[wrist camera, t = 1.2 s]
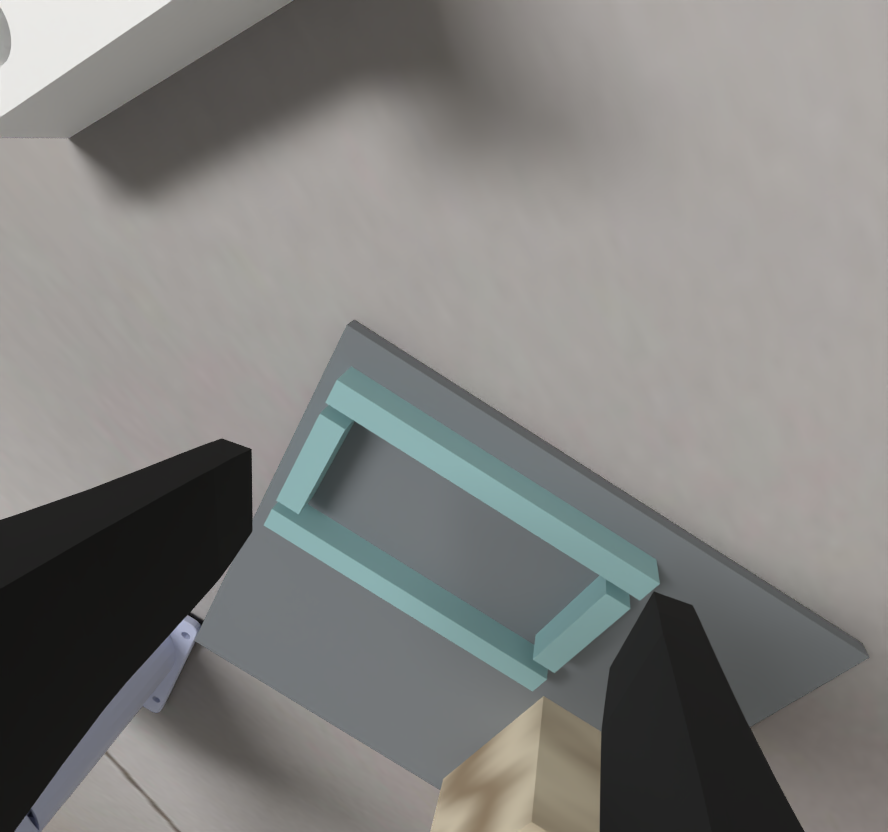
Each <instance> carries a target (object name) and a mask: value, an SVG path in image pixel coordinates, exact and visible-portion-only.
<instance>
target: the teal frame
mask: <svg viewBox="0 0 888 832" xmlns="http://www.w3.org/2000/svg"><path fill="white" fill-rule="evenodd" d="M325 403H327V404H328V406H327V407H326V408H325V409H324V410H323V411H322V412H321V413H320V414H319V416H318V418H317V420H316V422H315V424H314V426H313V428H312V430H311V432H310V434H309V436H308V438H307V440H306V442H305V444H304V446H303V448H302V450H301V452H300V454H299V456H298V458H297V460H296V462H295V464H294V466H293V468H292V470H291V472H290V474H289V476H288V478H287V480H286V482H285V484H284V486H283V488H282V490H281V492H280V494H279V496H278V498H277V500H276V501H278V503H277V504H276V505H275V506H274V507H273V508H272V510H271V512H270V514H269V516H268V518H267V520H266V521H265V523H264V526H265V527H267V528H269V529H270V530H272V531H274V532H275V533H277V534H278V535H280V536H282V537H283V538H285V539H286V540H288V541H290V542H291V543H293V544H295V545H296V546H298V547H299V548H301V549H303V550H304V551H306V552H308V553H309V554H311V555H312V556H314V557H316V558H317V559H319V560H320V561H322V562H324V563H325V564H327V565H329V566H330V567H332V568H333V569H335V570H337V571H338V572H340V573H342V574H343V575H345V576H346V577H348V578H350V579H351V580H353V581H354V582H356V583H358V584H359V585H361V586H363V587H364V588H366V589H367V590H369V591H371V592H372V593H374V594H375V595H377V596H379V597H380V598H382V599H384V600H385V601H387V602H388V603H390V604H392V605H393V606H395V607H397V608H398V609H400V610H401V611H403V612H405V613H406V614H408V615H409V616H411V617H413V618H414V619H416V620H418V621H419V622H421V623H422V624H424V625H426V626H427V627H429V628H431V629H432V630H434V631H435V632H437V633H439V634H440V635H442V636H443V637H445V638H447V639H448V640H450V641H452V642H453V643H455V644H456V645H458V646H460V647H461V648H463V649H464V650H466V651H468V652H469V653H471V654H473V655H474V656H476V657H477V658H479V659H481V660H482V661H484V662H486V663H487V664H489V665H490V666H492V667H494V668H495V669H497V670H498V671H500V672H502V673H503V674H505V675H507V676H508V677H510V678H511V679H513V680H515V681H516V682H518V683H520V684H521V685H523V686H524V687H526V688H528V689H529V690H531V691H532V692H533V691H534V690H535V689H536V688H537V687H539V686H540V685H541V684H542V683H543V682H544V681H546V680H547V674H548V669H549V670H550V671H552V672H553V673H555V672H556V671H557V670H559V669H560V668H561V667H562V666H563V665H565V664H566V663H567V662H568V661H569V660H570V659H572V658H573V657H574V656H575V655H576V654H578V653H579V652H580V651H581V650H582V649H583V648H585V647H586V646H587V645H588V644H589V643H591V642H592V641H593V640H594V639H595V638H596V637H598V636H599V635H600V634H601V633H602V632H604V631H605V630H606V629H607V628H608V627H609V626H611V625H612V624H613V623H614V622H615V621H617V620H618V619H619V618H620V617H621V616H622V615H624V614H625V613H626V612H627V611H628V610H630V596H629V594H630V595H632V596H633V597H635V598H636V599H638V600H641V599H643V598H644V597H645V596H646V595H647V594H648V593H650V592H651V591H652V590H653V589H654V588H656V587H657V586H658V585H659V584H660V581H659V574H658V567H657V560H656V559H655V558H653V557H652V556H650V555H648V554H647V553H645V552H644V551H642V550H640V549H639V548H637V547H636V546H634V545H633V544H631V543H629V542H628V541H626V540H625V539H623V538H622V537H620V536H618V535H617V534H615V533H614V532H612V531H610V530H609V529H607V528H606V527H604V526H603V525H601V524H599V523H598V522H596V521H595V520H593V519H592V518H590V517H588V516H587V515H585V514H584V513H582V512H580V511H579V510H577V509H576V508H574V507H573V506H571V505H569V504H568V503H566V502H565V501H563V500H562V499H560V498H558V497H557V496H555V495H554V494H552V493H550V492H549V491H547V490H546V489H544V488H543V487H541V486H539V485H538V484H536V483H535V482H533V481H532V480H530V479H528V478H527V477H525V476H524V475H522V474H520V473H519V472H517V471H516V470H514V469H513V468H511V467H509V466H508V465H506V464H505V463H503V462H502V461H500V460H498V459H497V458H495V457H494V456H492V455H490V454H489V453H487V452H486V451H484V450H483V449H481V448H479V447H478V446H476V445H475V444H473V443H472V442H470V441H468V440H467V439H465V438H464V437H462V436H460V435H459V434H457V433H456V432H454V431H453V430H451V429H449V428H448V427H446V426H445V425H443V424H442V423H440V422H438V421H437V420H435V419H434V418H432V417H430V416H429V415H427V414H426V413H424V412H423V411H421V410H419V409H418V408H416V407H415V406H413V405H412V404H410V403H408V402H407V401H405V400H404V399H402V398H400V397H399V396H397V395H396V394H394V393H393V392H391V391H389V390H388V389H386V388H385V387H383V386H382V385H380V384H378V383H377V382H375V381H374V380H372V379H370V378H369V377H367V376H366V375H364V374H363V373H361V372H359V371H358V370H356V369H355V368H353V367H352V366H351V367H350V368H349V369H348V370H347V371H346V372H345V373H344V374H343V375H341V376H340V377H339V378H338V379H337V380H336V382H335V384H334V386H333V388H332V390H331V392H330V394H329V396H328V398H327V400H326V402H325ZM354 422H357V423H358V424H360V425H362V426H363V427H365V428H366V429H368V430H370V431H371V432H373V433H374V434H376V435H378V436H379V437H381V438H382V439H384V440H385V441H387V442H389V443H390V444H392V445H393V446H395V447H397V448H398V449H400V450H401V451H403V452H405V453H406V454H408V455H409V456H411V457H412V458H414V459H416V460H417V461H419V462H420V463H422V464H424V465H425V466H427V467H428V468H430V469H432V470H433V471H435V472H436V473H438V474H439V475H441V476H443V477H444V478H446V479H447V480H449V481H451V482H452V483H454V484H455V485H457V486H459V487H460V488H462V489H463V490H465V491H466V492H468V493H470V494H471V495H473V496H474V497H476V498H478V499H479V500H481V501H482V502H484V503H486V504H487V505H489V506H490V507H492V508H494V509H495V510H497V511H498V512H500V513H501V514H503V515H505V516H506V517H508V518H509V519H511V520H513V521H514V522H516V523H517V524H519V525H521V526H522V527H524V528H525V529H527V530H528V531H530V532H532V533H533V534H535V535H536V536H538V537H540V538H541V539H543V540H544V541H546V542H548V543H549V544H551V545H552V546H554V547H555V548H557V549H559V550H560V551H562V552H563V553H565V554H567V555H568V556H570V557H571V558H573V559H575V560H576V561H578V562H579V563H581V564H582V565H584V566H586V567H587V568H589V569H590V570H592V571H594V572H595V573H597V574H598V575H599V576H598V577H597V578H596V579H595V580H594V581H593V582H592V583H591V584H590V585H589V586H588V587H586V588H585V589H584V590H583V591H582V592H581V593H580V594H579V595H578V596H577V597H576V598H575V599H574V600H573V601H571V602H570V603H569V604H568V605H567V606H566V607H565V608H564V609H563V610H562V611H561V612H560V613H559V614H558V615H556V616H555V617H554V618H553V619H552V620H551V621H550V622H549V623H548V624H547V625H546V626H545V627H544V628H543V629H542V630H540V631H539V632H538V633H537V634H536V636H535V644H532V643H530V642H529V641H527V640H526V639H524V638H522V637H521V636H519V635H518V634H516V633H514V632H513V631H511V630H509V629H508V628H506V627H505V626H503V625H501V624H500V623H498V622H497V621H495V620H493V619H492V618H490V617H489V616H487V615H485V614H484V613H482V612H481V611H479V610H477V609H476V608H474V607H472V606H471V605H469V604H468V603H466V602H464V601H463V600H461V599H460V598H458V597H456V596H455V595H453V594H452V593H450V592H448V591H447V590H445V589H443V588H442V587H440V586H439V585H437V584H435V583H434V582H432V581H431V580H429V579H427V578H426V577H424V576H423V575H421V574H419V573H418V572H416V571H415V570H413V569H411V568H410V567H408V566H406V565H405V564H403V563H402V562H400V561H398V560H397V559H395V558H394V557H392V556H390V555H389V554H387V553H386V552H384V551H382V550H381V549H379V548H378V547H376V546H374V545H373V544H371V543H369V542H368V541H366V540H365V539H363V538H361V537H360V536H358V535H357V534H355V533H353V532H352V531H350V530H349V529H347V528H345V527H344V526H342V525H341V524H339V523H337V522H336V521H334V520H332V519H331V518H329V517H328V516H326V515H324V514H323V513H321V512H320V511H318V510H316V509H315V508H313V507H312V506H310V505H308V502H309V501H310V500H311V499H312V497H313V496H314V494H315V492H316V490H317V489H318V487H319V485H320V483H321V481H322V480H323V478H324V476H325V474H326V472H327V470H328V469H329V467H330V465H331V463H332V461H333V460H334V458H335V456H336V454H337V452H338V451H339V449H340V447H341V445H342V443H343V442H344V440H345V438H346V436H347V434H348V432H349V431H350V429H351V427H352V425H353V423H354Z"/></svg>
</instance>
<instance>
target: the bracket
mask: <svg viewBox="0 0 888 832" xmlns="http://www.w3.org/2000/svg"><path fill="white" fill-rule="evenodd" d="M292 1H294V0H0V138H70V137H72V136H73V135H75V134H77V133H78V132H80V131H81V130H83V129H85V128H86V127H88V126H90V125H91V124H93V123H94V122H96V121H98V120H99V119H101V118H103V117H104V116H106V115H108V114H109V113H111V112H112V111H114V110H116V109H117V108H119V107H121V106H122V105H124V104H125V103H127V102H129V101H130V100H132V99H134V98H135V97H137V96H139V95H140V94H142V93H143V92H145V91H147V90H148V89H150V88H152V87H153V86H155V85H156V84H158V83H160V82H161V81H163V80H165V79H166V78H168V77H170V76H171V75H173V74H174V73H176V72H178V71H179V70H181V69H183V68H184V67H186V66H187V65H189V64H191V63H192V62H194V61H196V60H197V59H199V58H201V57H202V56H204V55H205V54H207V53H209V52H210V51H212V50H214V49H215V48H217V47H218V46H220V45H222V44H223V43H225V42H227V41H228V40H230V39H232V38H233V37H235V36H236V35H238V34H240V33H241V32H243V31H245V30H246V29H248V28H249V27H251V26H253V25H254V24H256V23H258V22H259V21H261V20H263V19H264V18H266V17H267V16H269V15H271V14H272V13H274V12H276V11H277V10H279V9H280V8H282V7H284V6H285V5H287V4H289V3H290V2H292Z"/></svg>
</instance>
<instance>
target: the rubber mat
mask: <svg viewBox="0 0 888 832" xmlns="http://www.w3.org/2000/svg"><path fill="white" fill-rule="evenodd" d="M351 366H352V367H353V368H355V369H356V370H358V371H359V372H361V373H363V374H364V375H366V376H367V377H369V378H370V379H372V380H374V381H375V382H377V383H378V384H380V385H382V386H383V387H385V388H386V389H388V390H389V391H391V392H393V393H394V394H396V395H397V396H399V397H400V398H402V399H404V400H405V401H407V402H408V403H410V404H412V405H413V406H415V407H416V408H418V409H419V410H421V411H423V412H424V413H426V414H427V415H429V416H430V417H432V418H434V419H435V420H437V421H438V422H440V423H442V424H443V425H445V426H446V427H448V428H449V429H451V430H453V431H454V432H456V433H457V434H459V435H460V436H462V437H464V438H465V439H467V440H468V441H470V442H472V443H473V444H475V445H476V446H478V447H479V448H481V449H483V450H484V451H486V452H487V453H489V454H490V455H492V456H494V457H495V458H497V459H498V460H500V461H502V462H503V463H505V464H506V465H508V466H509V467H511V468H513V469H514V470H516V471H517V472H519V473H520V474H522V475H524V476H525V477H527V478H528V479H530V480H532V481H533V482H535V483H536V484H538V485H539V486H541V487H543V488H544V489H546V490H547V491H549V492H550V493H552V494H554V495H555V496H557V497H558V498H560V499H562V500H563V501H565V502H566V503H568V504H569V505H571V506H573V507H574V508H576V509H577V510H579V511H580V512H582V513H584V514H585V515H587V516H588V517H590V518H592V519H593V520H595V521H596V522H598V523H599V524H601V525H603V526H604V527H606V528H607V529H609V530H610V531H612V532H614V533H615V534H617V535H618V536H620V537H622V538H623V539H625V540H626V541H628V542H629V543H631V544H633V545H634V546H636V547H637V548H639V549H640V550H642V551H644V552H645V553H647V554H648V555H650V556H652V557H653V558H655V559H656V560H657V567H658V574H659V581H660V584H659V585H658V586H657V587H656V588H654V589H653V590H652V591H651V592H650V593H648V594H647V595H646V596H645V597H644V598H643V599H641V600H638V599H636V598H635V597H633V596H632V595H630V594H629V596H630V610H628V611H627V612H626V613H625V614H624V615H622V616H621V617H620V618H619V619H618V620H617V621H615V622H614V623H613V624H612V625H611V626H609V627H608V628H607V629H606V630H605V631H604V632H602V633H601V634H600V635H599V636H598V637H596V638H595V639H594V640H593V641H592V642H591V643H589V644H588V645H587V646H586V647H585V648H583V649H582V650H581V651H580V652H579V653H578V654H576V655H575V656H574V657H573V658H572V659H570V660H569V661H568V662H567V663H566V664H565V665H563V666H562V667H561V668H560V669H559V670H557V671H556V672H555V673H553V672H552V671H550V670H549V669H548V674H547V680H546V681H544V682H543V683H542V684H541V685H540V686H539V687H537V688H536V689H535V690H534V691H533V692H532V691H531V690H529V689H528V688H526V687H524V686H523V685H521V684H520V683H518V682H516V681H515V680H513V679H511V678H510V677H508V676H507V675H505V674H503V673H502V672H500V671H498V670H497V669H495V668H494V667H492V666H490V665H489V664H487V663H486V662H484V661H482V660H481V659H479V658H477V657H476V656H474V655H473V654H471V653H469V652H468V651H466V650H464V649H463V648H461V647H460V646H458V645H456V644H455V643H453V642H452V641H450V640H448V639H447V638H445V637H443V636H442V635H440V634H439V633H437V632H435V631H434V630H432V629H431V628H429V627H427V626H426V625H424V624H422V623H421V622H419V621H418V620H416V619H414V618H413V617H411V616H409V615H408V614H406V613H405V612H403V611H401V610H400V609H398V608H397V607H395V606H393V605H392V604H390V603H388V602H387V601H385V600H384V599H382V598H380V597H379V596H377V595H375V594H374V593H372V592H371V591H369V590H367V589H366V588H364V587H363V586H361V585H359V584H358V583H356V582H354V581H353V580H351V579H350V578H348V577H346V576H345V575H343V574H342V573H340V572H338V571H337V570H335V569H333V568H332V567H330V566H329V565H327V564H325V563H324V562H322V561H320V560H319V559H317V558H316V557H314V556H312V555H311V554H309V553H308V552H306V551H304V550H303V549H301V548H299V547H298V546H296V545H295V544H293V543H291V542H290V541H288V540H286V539H285V538H283V537H282V536H280V535H278V534H277V533H275V532H274V531H272V530H270V529H269V528H267V527H265V526H264V523H265V521H266V520H267V518H268V516H269V514H270V512H271V510H272V508H273V507H274V506H275V505H276V504H277V503H278V501H276V500H277V498H278V496H279V494H280V492H281V490H282V488H283V486H284V484H285V482H286V480H287V478H288V476H289V474H290V472H291V470H292V468H293V466H294V464H295V462H296V460H297V458H298V456H299V454H300V452H301V450H302V448H303V446H304V444H305V442H306V440H307V438H308V436H309V434H310V432H311V430H312V428H313V426H314V424H315V422H316V420H317V418H318V416H319V414H320V413H321V412H322V411H323V410H324V409H325V408H326V407H327V406H328V404H327V403H325V402H326V400H327V398H328V396H329V394H330V392H331V390H332V388H333V386H334V384H335V382H336V380H337V379H338V378H339V377H340V376H341V375H343V374H344V373H345V372H346V371H347V370H348V369H349V368H350V367H351ZM308 505H310V506H312V507H313V508H315V509H316V510H318V511H320V512H321V513H323V514H324V515H326V516H328V517H329V518H331V519H332V520H334V521H336V522H337V523H339V524H341V525H342V526H344V527H345V528H347V529H349V530H350V531H352V532H353V533H355V534H357V535H358V536H360V537H361V538H363V539H365V540H366V541H368V542H369V543H371V544H373V545H374V546H376V547H378V548H379V549H381V550H382V551H384V552H386V553H387V554H389V555H390V556H392V557H394V558H395V559H397V560H398V561H400V562H402V563H403V564H405V565H406V566H408V567H410V568H411V569H413V570H415V571H416V572H418V573H419V574H421V575H423V576H424V577H426V578H427V579H429V580H431V581H432V582H434V583H435V584H437V585H439V586H440V587H442V588H443V589H445V590H447V591H448V592H450V593H452V594H453V595H455V596H456V597H458V598H460V599H461V600H463V601H464V602H466V603H468V604H469V605H471V606H472V607H474V608H476V609H477V610H479V611H481V612H482V613H484V614H485V615H487V616H489V617H490V618H492V619H493V620H495V621H497V622H498V623H500V624H501V625H503V626H505V627H506V628H508V629H509V630H511V631H513V632H514V633H516V634H518V635H519V636H521V637H522V638H524V639H526V640H527V641H529V642H530V643H532V644H535V636H536V634H537V633H538V632H539V631H540V630H542V629H543V628H544V627H545V626H546V625H547V624H548V623H549V622H550V621H551V620H552V619H553V618H554V617H555V616H556V615H558V614H559V613H560V612H561V611H562V610H563V609H564V608H565V607H566V606H567V605H568V604H569V603H570V602H571V601H573V600H574V599H575V598H576V597H577V596H578V595H579V594H580V593H581V592H582V591H583V590H584V589H585V588H586V587H588V586H589V585H590V584H591V583H592V582H593V581H594V580H595V579H596V578H597V577H598V576H599V575H598V574H597V573H595V572H594V571H592V570H590V569H589V568H587V567H586V566H584V565H582V564H581V563H579V562H578V561H576V560H575V559H573V558H571V557H570V556H568V555H567V554H565V553H563V552H562V551H560V550H559V549H557V548H555V547H554V546H552V545H551V544H549V543H548V542H546V541H544V540H543V539H541V538H540V537H538V536H536V535H535V534H533V533H532V532H530V531H528V530H527V529H525V528H524V527H522V526H521V525H519V524H517V523H516V522H514V521H513V520H511V519H509V518H508V517H506V516H505V515H503V514H501V513H500V512H498V511H497V510H495V509H494V508H492V507H490V506H489V505H487V504H486V503H484V502H482V501H481V500H479V499H478V498H476V497H474V496H473V495H471V494H470V493H468V492H466V491H465V490H463V489H462V488H460V487H459V486H457V485H455V484H454V483H452V482H451V481H449V480H447V479H446V478H444V477H443V476H441V475H439V474H438V473H436V472H435V471H433V470H432V469H430V468H428V467H427V466H425V465H424V464H422V463H420V462H419V461H417V460H416V459H414V458H412V457H411V456H409V455H408V454H406V453H405V452H403V451H401V450H400V449H398V448H397V447H395V446H393V445H392V444H390V443H389V442H387V441H385V440H384V439H382V438H381V437H379V436H378V435H376V434H374V433H373V432H371V431H370V430H368V429H366V428H365V427H363V426H362V425H360V424H358V423H357V422H354V423H353V425H352V427H351V429H350V431H349V432H348V434H347V436H346V438H345V440H344V442H343V443H342V445H341V447H340V449H339V451H338V452H337V454H336V456H335V458H334V460H333V461H332V463H331V465H330V467H329V469H328V470H327V472H326V474H325V476H324V478H323V480H322V481H321V483H320V485H319V487H318V489H317V490H316V492H315V494H314V496H313V497H312V499H311V500H310V501H309V502H308ZM252 526H253V531H252V533H251V534H250V536H249V537H248V539H247V540H246V542H245V543H244V545H243V546H242V548H241V549H240V551H239V552H238V554H237V555H236V557H235V558H234V560H233V562H232V564H231V566H230V568H229V570H228V572H227V574H226V576H225V578H224V580H223V582H222V584H221V586H220V588H219V590H218V593H217V595H216V597H215V599H214V601H213V603H212V605H211V607H210V609H209V611H208V613H207V615H206V617H205V619H204V621H203V624H202V626H201V628H200V630H199V632H198V634H197V636H196V638H195V640H194V641H195V642H197V643H199V644H200V645H202V646H204V647H205V648H207V649H209V650H210V651H212V652H214V653H215V654H217V655H218V656H220V657H222V658H223V659H225V660H227V661H228V662H230V663H232V664H233V665H235V666H237V667H238V668H240V669H242V670H243V671H245V672H246V673H248V674H250V675H251V676H253V677H255V678H256V679H258V680H260V681H261V682H263V683H265V684H266V685H268V686H270V687H271V688H273V689H275V690H276V691H278V692H279V693H281V694H283V695H284V696H286V697H288V698H289V699H291V700H293V701H294V702H296V703H298V704H299V705H301V706H303V707H304V708H306V709H307V710H309V711H311V712H312V713H314V714H316V715H317V716H319V717H321V718H322V719H324V720H326V721H327V722H329V723H331V724H332V725H334V726H335V727H337V728H339V729H340V730H342V731H344V732H345V733H347V734H349V735H350V736H352V737H354V738H355V739H357V740H359V741H360V742H362V743H364V744H365V745H367V746H368V747H370V748H372V749H373V750H375V751H377V752H378V753H380V754H382V755H383V756H385V757H387V758H388V759H390V760H392V761H393V762H395V763H396V764H398V765H400V766H401V767H403V768H405V769H406V770H408V771H410V772H411V773H413V774H415V775H416V776H418V777H420V778H421V779H423V780H424V781H426V782H428V783H429V784H431V785H433V786H434V787H436V788H438V789H439V790H441V786H442V782H443V779H444V778H445V777H446V776H447V775H448V774H450V773H451V772H452V771H453V770H454V769H456V768H457V767H458V766H459V765H461V764H462V763H463V762H464V761H465V760H467V759H468V758H469V757H470V756H471V755H473V754H474V753H475V752H476V751H478V750H479V749H480V748H481V747H482V746H484V745H485V744H486V743H487V742H488V741H490V740H491V739H492V738H493V737H495V736H496V735H497V734H498V733H499V732H501V731H502V730H503V729H504V728H505V727H507V726H508V725H509V724H510V723H512V722H513V721H514V720H515V719H516V718H518V717H519V716H520V715H521V714H522V713H524V712H525V711H526V710H527V709H529V708H530V707H531V706H532V705H533V704H535V703H536V702H537V701H538V700H539V699H541V698H542V697H543V696H544V697H546V698H548V699H549V700H551V701H552V702H554V703H556V704H557V705H559V706H560V707H562V708H564V709H565V710H567V711H569V712H570V713H572V714H573V715H575V716H577V717H578V718H580V719H582V720H583V721H585V722H586V723H588V724H590V725H591V726H593V727H594V728H596V729H598V730H599V731H601V730H602V722H603V713H604V705H605V698H606V691H607V683H608V676H609V669H610V666H611V664H612V663H613V661H614V659H615V658H616V656H617V654H618V652H619V651H620V649H621V647H622V645H623V644H624V642H625V640H626V638H627V637H628V635H629V633H630V631H631V630H632V628H633V626H634V624H635V623H636V621H637V619H638V617H639V616H640V614H641V612H642V611H643V609H644V607H645V605H646V604H647V602H648V600H649V598H650V597H651V595H652V593H653V591H654V592H657V593H660V594H663V595H665V596H668V597H671V598H674V599H677V600H680V601H682V602H685V603H688V604H691V605H693V607H694V609H695V611H696V613H697V615H698V617H699V619H700V621H701V623H702V626H703V628H704V630H705V632H706V635H707V637H708V639H709V641H710V643H711V646H712V648H713V650H714V652H715V654H716V657H717V659H718V661H719V663H720V665H721V668H722V670H723V672H724V674H725V676H726V678H727V680H728V683H729V685H730V687H731V689H732V691H733V693H734V696H735V698H736V700H737V702H738V704H739V706H740V708H741V710H742V712H743V714H744V716H745V719H746V721H747V723H748V725H749V727H751V726H753V725H754V724H756V723H758V722H760V721H761V720H763V719H765V718H766V717H768V716H770V715H772V714H773V713H775V712H777V711H778V710H780V709H782V708H784V707H785V706H787V705H789V704H790V703H792V702H794V701H796V700H797V699H799V698H801V697H803V696H804V695H806V694H808V693H809V692H811V691H813V690H815V689H816V688H818V687H820V686H821V685H823V684H825V683H827V682H828V681H830V680H832V679H833V678H835V677H837V676H839V675H840V674H842V673H844V672H845V671H847V670H849V669H851V668H852V667H854V666H856V665H857V664H859V663H861V662H863V661H864V660H866V659H868V658H869V655H868V653H867V651H866V649H865V648H864V646H863V644H862V643H861V642H859V641H858V640H856V639H855V638H853V637H851V636H850V635H848V634H847V633H845V632H844V631H842V630H840V629H839V628H837V627H836V626H834V625H833V624H831V623H830V622H828V621H826V620H825V619H823V618H822V617H820V616H819V615H817V614H815V613H814V612H812V611H811V610H809V609H808V608H806V607H804V606H803V605H801V604H800V603H798V602H797V601H795V600H793V599H792V598H790V597H789V596H787V595H786V594H784V593H782V592H781V591H779V590H778V589H776V588H775V587H773V586H771V585H770V584H768V583H767V582H765V581H764V580H762V579H760V578H759V577H757V576H756V575H754V574H753V573H751V572H749V571H748V570H746V569H745V568H743V567H742V566H740V565H738V564H737V563H735V562H734V561H732V560H731V559H729V558H727V557H726V556H724V555H723V554H721V553H720V552H718V551H716V550H715V549H713V548H712V547H710V546H709V545H707V544H705V543H704V542H702V541H701V540H699V539H698V538H696V537H694V536H693V535H691V534H690V533H688V532H687V531H685V530H683V529H682V528H680V527H679V526H677V525H676V524H674V523H672V522H671V521H669V520H668V519H666V518H665V517H663V516H661V515H660V514H658V513H657V512H655V511H654V510H652V509H650V508H649V507H647V506H646V505H644V504H643V503H641V502H639V501H638V500H636V499H635V498H633V497H632V496H630V495H628V494H627V493H625V492H624V491H622V490H621V489H619V488H617V487H616V486H614V485H613V484H611V483H610V482H608V481H606V480H605V479H603V478H602V477H600V476H599V475H597V474H595V473H594V472H592V471H591V470H589V469H588V468H586V467H584V466H583V465H581V464H580V463H578V462H577V461H575V460H574V459H572V458H570V457H569V456H567V455H566V454H564V453H563V452H561V451H559V450H558V449H556V448H555V447H553V446H552V445H550V444H548V443H547V442H545V441H544V440H542V439H541V438H539V437H537V436H536V435H534V434H533V433H531V432H530V431H528V430H526V429H525V428H523V427H522V426H520V425H519V424H517V423H515V422H514V421H512V420H511V419H509V418H508V417H506V416H504V415H503V414H501V413H500V412H498V411H497V410H495V409H493V408H492V407H490V406H489V405H487V404H486V403H484V402H482V401H481V400H479V399H478V398H476V397H475V396H473V395H471V394H470V393H468V392H467V391H465V390H464V389H462V388H460V387H459V386H457V385H456V384H454V383H453V382H451V381H449V380H448V379H446V378H445V377H443V376H442V375H440V374H438V373H437V372H435V371H434V370H432V369H431V368H429V367H427V366H426V365H424V364H423V363H421V362H420V361H418V360H416V359H415V358H413V357H412V356H410V355H409V354H407V353H405V352H404V351H402V350H401V349H399V348H398V347H396V346H394V345H393V344H391V343H390V342H388V341H387V340H385V339H383V338H382V337H380V336H379V335H377V334H376V333H374V332H372V331H371V330H369V329H368V328H366V327H365V326H363V325H361V324H360V323H358V322H357V321H355V320H353V321H352V322H350V323H349V324H348V325H347V326H346V328H345V330H344V332H343V334H342V336H341V338H340V340H339V342H338V344H337V347H336V349H335V351H334V353H333V355H332V357H331V359H330V361H329V363H328V365H327V367H326V369H325V371H324V373H323V375H322V378H321V380H320V382H319V384H318V386H317V388H316V390H315V392H314V394H313V396H312V398H311V400H310V402H309V404H308V406H307V409H306V411H305V413H304V415H303V417H302V419H301V421H300V423H299V425H298V427H297V429H296V431H295V433H294V435H293V438H292V440H291V442H290V444H289V446H288V448H287V450H286V452H285V454H284V456H283V458H282V460H281V462H280V464H279V466H278V469H277V471H276V473H275V475H274V477H273V479H272V481H271V483H270V485H269V487H268V489H267V491H266V493H265V495H264V497H263V500H262V502H261V504H260V506H259V508H258V510H257V512H256V514H255V516H254V518H253V520H252Z"/></svg>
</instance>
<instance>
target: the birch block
mask: <svg viewBox="0 0 888 832" xmlns="http://www.w3.org/2000/svg"><path fill="white" fill-rule="evenodd" d="M600 769H601V731H599V730H598V729H596V728H594V727H593V726H591V725H590V724H588V723H586V722H585V721H583V720H582V719H580V718H578V717H577V716H575V715H573V714H572V713H570V712H569V711H567V710H565V709H564V708H562V707H560V706H559V705H557V704H556V703H554V702H552V701H551V700H549V699H548V698H546V697H544V696H543V697H542V698H541V699H539V700H538V701H537V702H536V703H535V704H533V705H532V706H531V707H530V708H529V709H527V710H526V711H525V712H524V713H522V714H521V715H520V716H519V717H518V718H516V719H515V720H514V721H513V722H512V723H510V724H509V725H508V726H507V727H505V728H504V729H503V730H502V731H501V732H499V733H498V734H497V735H496V736H495V737H493V738H492V739H491V740H490V741H488V742H487V743H486V744H485V745H484V746H482V747H481V748H480V749H479V750H478V751H476V752H475V753H474V754H473V755H471V756H470V757H469V758H468V759H467V760H465V761H464V762H463V763H462V764H461V765H459V766H458V767H457V768H456V769H454V770H453V771H452V772H451V773H450V774H448V775H447V776H446V777H445V778H444V779H443V782H442V786H441V790H440V794H439V799H438V803H437V807H436V811H435V815H434V819H433V823H432V828H431V832H600Z"/></svg>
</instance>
